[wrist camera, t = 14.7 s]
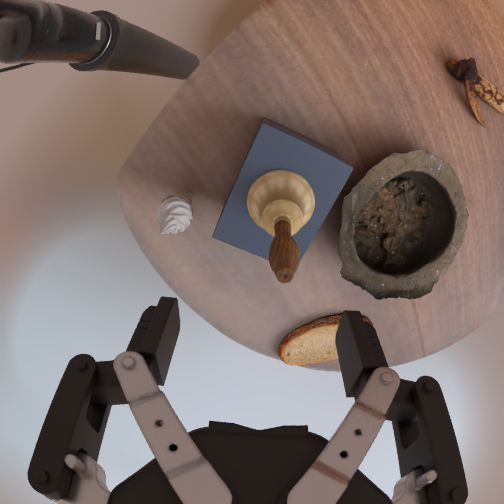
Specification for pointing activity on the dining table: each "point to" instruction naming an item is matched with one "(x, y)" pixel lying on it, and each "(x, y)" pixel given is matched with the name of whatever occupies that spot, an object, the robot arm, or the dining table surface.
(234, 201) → the shelf
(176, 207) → the ice cream cone
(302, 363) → the bread slice
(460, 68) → the lashed bone hook
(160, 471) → the robot arm
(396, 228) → the stone bowl
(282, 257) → the hand bell
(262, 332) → the dining table surface
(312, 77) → the dining table surface
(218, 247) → the dining table surface
